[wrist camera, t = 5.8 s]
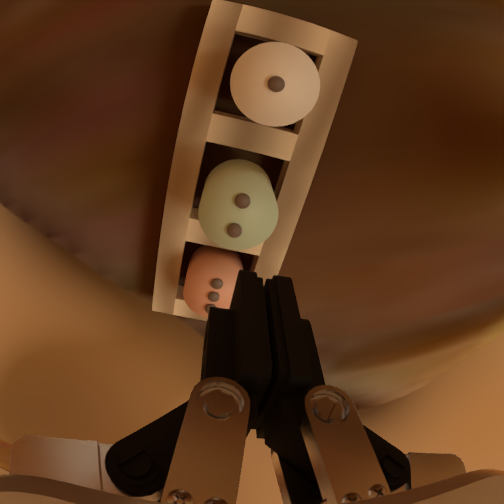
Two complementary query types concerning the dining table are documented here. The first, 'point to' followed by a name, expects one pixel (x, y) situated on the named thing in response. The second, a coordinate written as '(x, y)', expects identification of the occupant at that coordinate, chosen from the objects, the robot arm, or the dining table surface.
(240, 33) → the wooden panel frame
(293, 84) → the button one
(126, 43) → the dining table surface
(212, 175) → the button two
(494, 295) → the dining table surface
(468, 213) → the dining table surface
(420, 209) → the dining table surface
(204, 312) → the button three
